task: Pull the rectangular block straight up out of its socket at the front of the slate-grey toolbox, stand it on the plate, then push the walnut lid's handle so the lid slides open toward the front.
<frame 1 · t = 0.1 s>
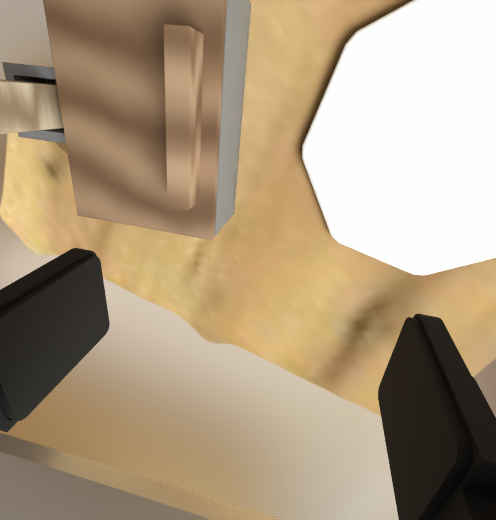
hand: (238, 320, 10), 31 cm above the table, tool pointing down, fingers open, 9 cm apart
lid: (129, 119, 29), point 10 cm above the table, slide at 0.0 cm
toolbox: (176, 115, 38), on the table
rectangular block: (67, 104, 36), point 4 cm above the table, touching toolbox
plate: (441, 147, 34), on the table
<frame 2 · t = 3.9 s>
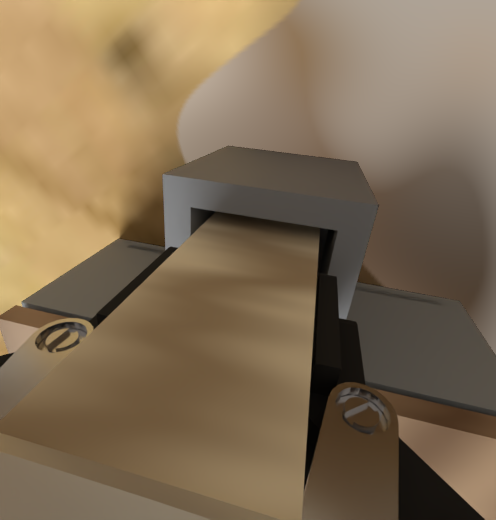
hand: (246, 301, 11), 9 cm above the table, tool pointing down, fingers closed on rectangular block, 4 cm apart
lid: (221, 513, 15), point 10 cm above the table, slide at 0.0 cm
toolbox: (261, 359, 24), on the table
rectangular block: (271, 241, 15), point 4 cm above the table, touching gripper, toolbox
when the fingers open (9 cm above the table, at t = 12.9 s): rectangular block drops 3 cm, resting on plate.
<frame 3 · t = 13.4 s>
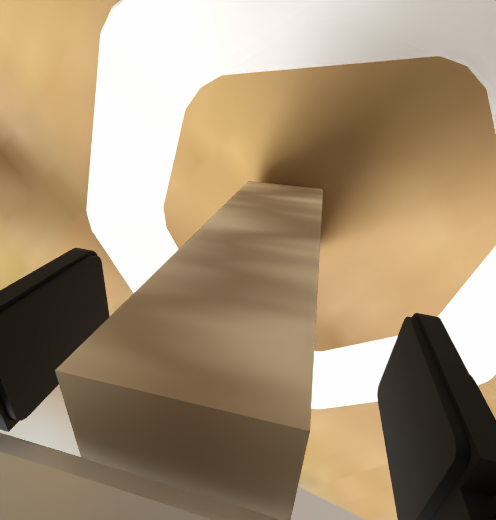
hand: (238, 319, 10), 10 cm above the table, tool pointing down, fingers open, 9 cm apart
rectangular block: (281, 220, 18), point 1 cm above the table, touching plate
plate: (316, 216, 19), on the table, touching rectangular block
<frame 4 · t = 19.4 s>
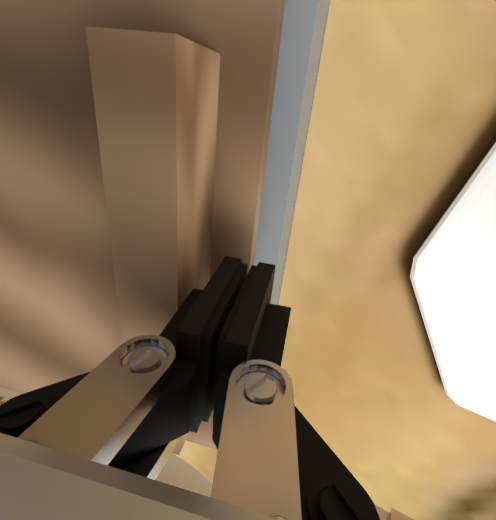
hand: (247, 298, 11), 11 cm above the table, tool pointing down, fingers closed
lid: (41, 249, 12), point 10 cm above the table, slide at 0.9 cm, touching gripper
toolbox: (175, 189, 21), on the table
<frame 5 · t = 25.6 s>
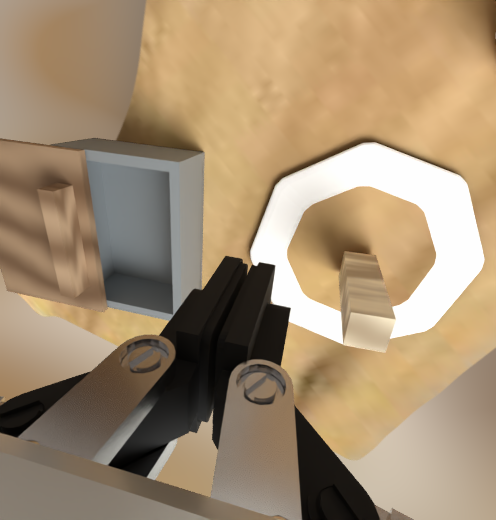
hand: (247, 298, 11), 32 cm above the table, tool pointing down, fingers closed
lid: (31, 234, 40), point 10 cm above the table, slide at 11.3 cm
toolbox: (152, 221, 48), on the table
rectangular block: (356, 266, 42), point 1 cm above the table, touching plate
plate: (356, 254, 44), on the table, touching rectangular block
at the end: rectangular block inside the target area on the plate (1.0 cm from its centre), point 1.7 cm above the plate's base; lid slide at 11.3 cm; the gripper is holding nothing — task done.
